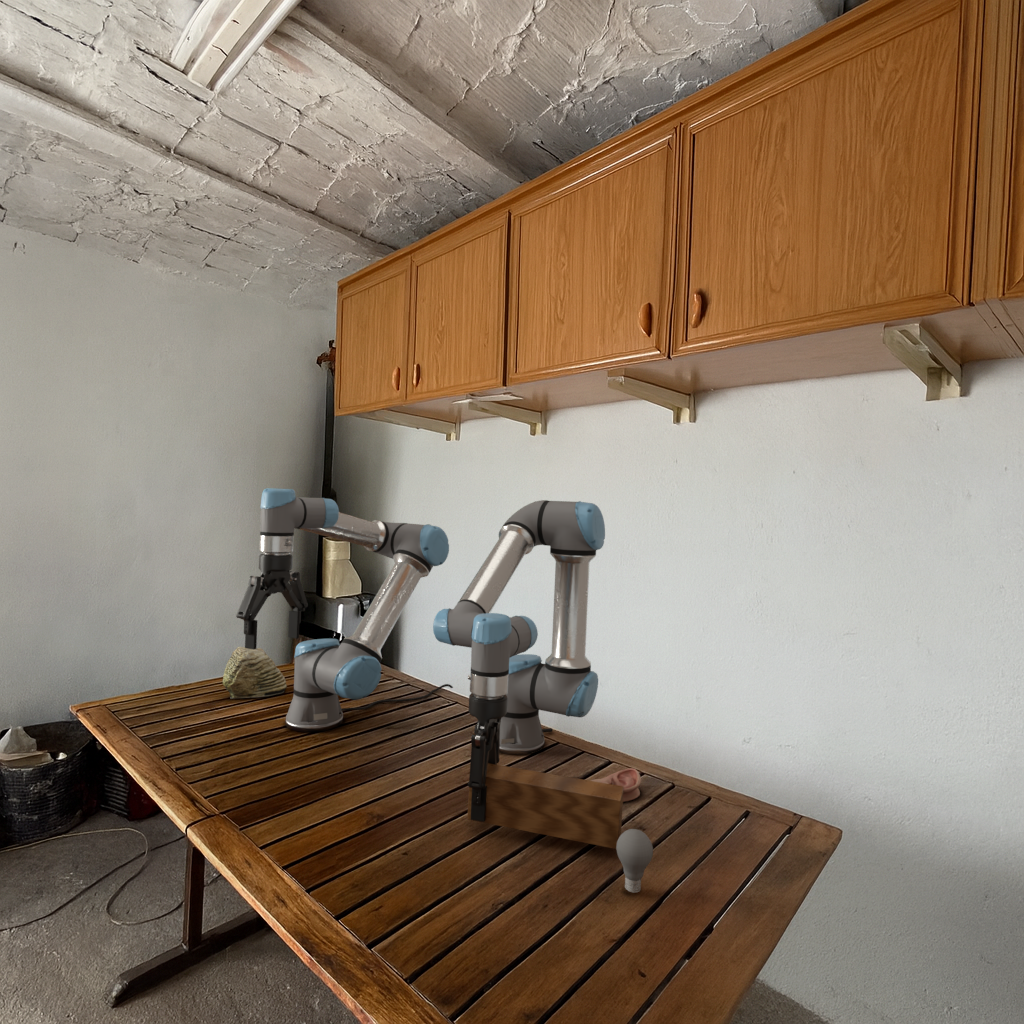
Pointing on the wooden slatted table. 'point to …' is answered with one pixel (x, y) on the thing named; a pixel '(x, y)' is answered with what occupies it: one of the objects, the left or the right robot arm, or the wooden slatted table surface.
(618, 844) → the light bulb
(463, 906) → the wooden slatted table surface
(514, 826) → the box
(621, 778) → the anatomical model
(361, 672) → the left robot arm
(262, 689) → the fossil
